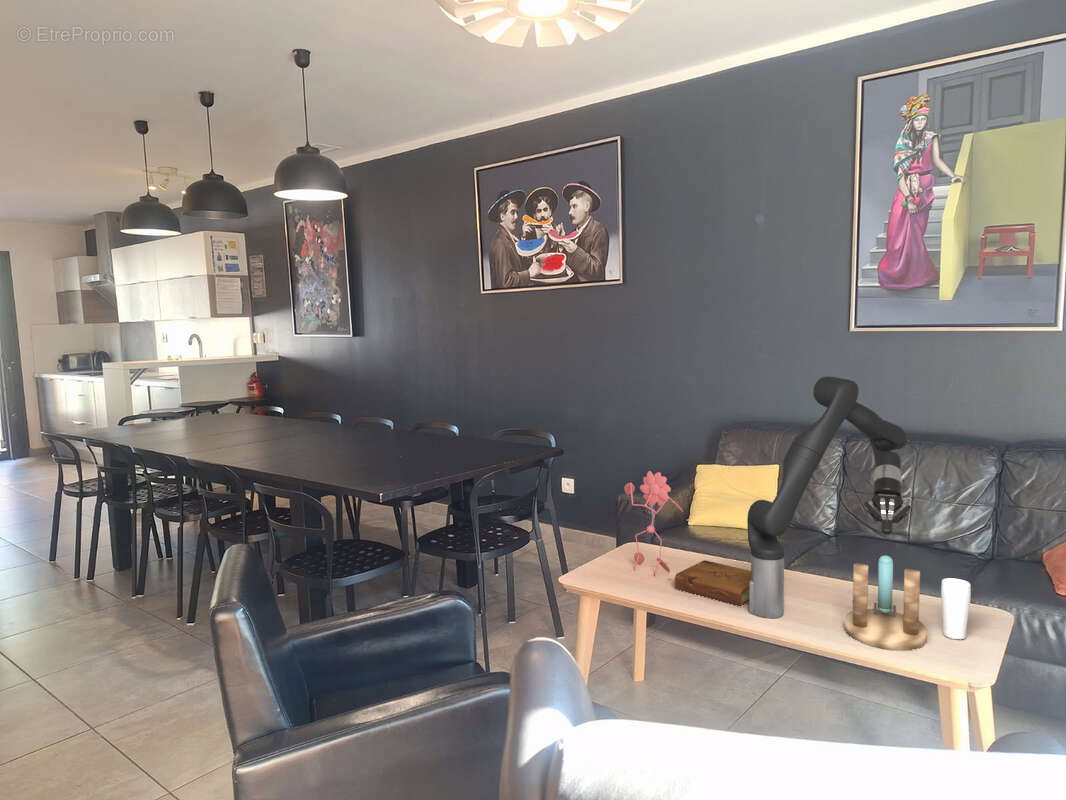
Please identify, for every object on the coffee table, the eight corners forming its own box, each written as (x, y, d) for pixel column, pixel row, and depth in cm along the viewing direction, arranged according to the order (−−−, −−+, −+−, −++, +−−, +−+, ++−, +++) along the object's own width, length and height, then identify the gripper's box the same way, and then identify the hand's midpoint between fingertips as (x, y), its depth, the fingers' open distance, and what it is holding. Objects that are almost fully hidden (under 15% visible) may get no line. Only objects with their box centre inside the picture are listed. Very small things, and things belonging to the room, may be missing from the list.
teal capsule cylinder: (877, 614, 193) (878, 557, 192) (877, 609, 197) (878, 553, 195) (892, 616, 192) (893, 558, 190) (891, 611, 195) (893, 554, 193)
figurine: (673, 582, 231) (674, 479, 228) (614, 565, 250) (614, 469, 247) (700, 572, 241) (701, 473, 238) (641, 556, 260) (641, 464, 257)
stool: (842, 642, 184) (843, 570, 182) (845, 614, 202) (847, 549, 200) (929, 656, 175) (931, 581, 173) (924, 626, 193) (926, 557, 191)
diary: (674, 591, 225) (674, 574, 224) (704, 576, 238) (704, 560, 238) (740, 609, 209) (740, 590, 208) (768, 591, 222) (768, 574, 222)
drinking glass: (936, 636, 186) (938, 582, 184) (943, 629, 191) (945, 576, 189) (965, 644, 181) (967, 588, 180) (972, 636, 186) (974, 581, 184)
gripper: (863, 474, 211) (861, 524, 201) (912, 477, 205) (913, 529, 195) (863, 488, 216) (861, 537, 206) (911, 491, 210) (912, 542, 200)
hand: (886, 533), depth 201 cm, fingers closed
